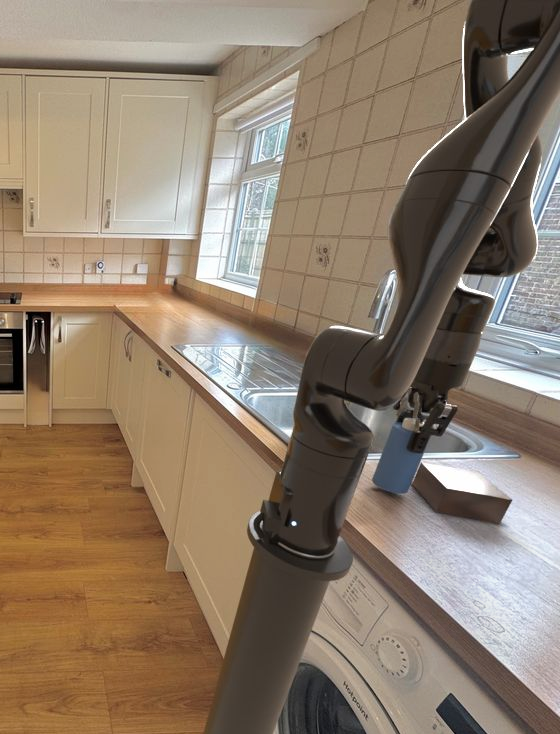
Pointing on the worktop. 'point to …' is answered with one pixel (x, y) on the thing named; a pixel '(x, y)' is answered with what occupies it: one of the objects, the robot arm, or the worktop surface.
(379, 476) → the blue bottle
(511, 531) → the worktop surface
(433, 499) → the walnut block
